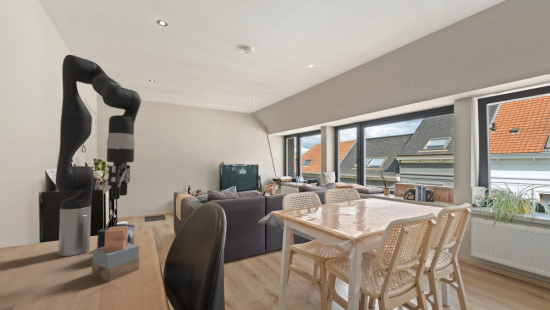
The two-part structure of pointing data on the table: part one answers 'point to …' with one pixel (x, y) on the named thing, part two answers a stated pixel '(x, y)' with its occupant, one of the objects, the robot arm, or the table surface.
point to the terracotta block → (116, 238)
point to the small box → (102, 232)
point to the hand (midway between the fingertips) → (119, 197)
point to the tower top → (115, 256)
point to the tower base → (114, 270)
